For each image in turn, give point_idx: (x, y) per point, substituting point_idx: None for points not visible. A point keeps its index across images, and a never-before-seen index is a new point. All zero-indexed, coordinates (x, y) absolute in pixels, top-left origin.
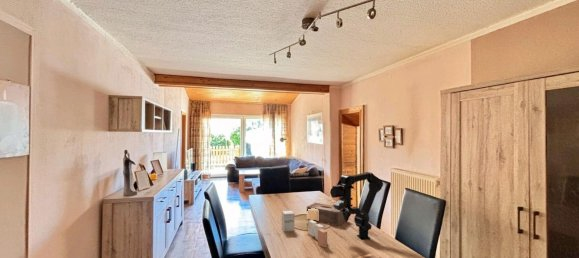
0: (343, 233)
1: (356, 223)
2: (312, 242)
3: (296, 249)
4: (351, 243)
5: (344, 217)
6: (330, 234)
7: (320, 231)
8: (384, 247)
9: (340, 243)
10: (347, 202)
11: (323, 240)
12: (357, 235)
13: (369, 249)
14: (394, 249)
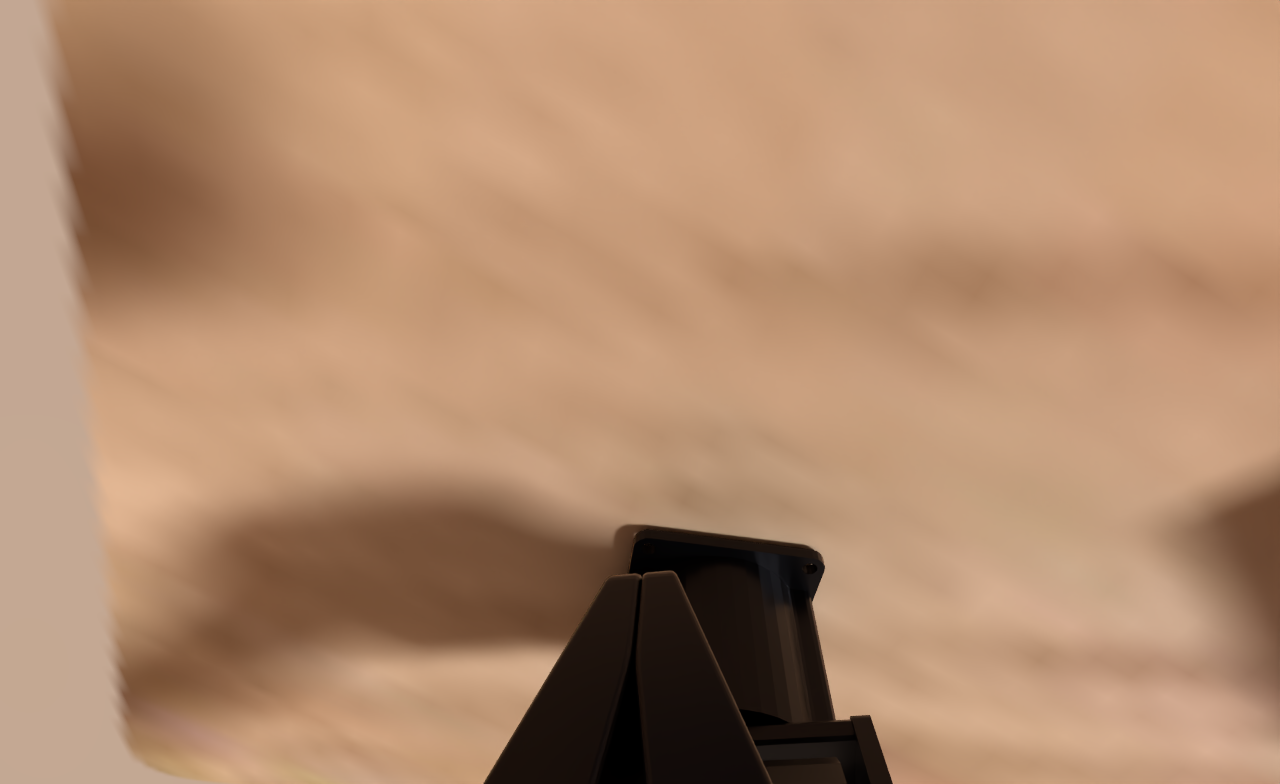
0: (1063, 407)
1: (786, 773)
2: None
3: None
4: (529, 285)
5: (670, 739)
6: (1239, 83)
7: None
8: (283, 636)
9: (597, 31)
10: None
11: None
12: (794, 559)
13: (215, 431)
14: (212, 690)
